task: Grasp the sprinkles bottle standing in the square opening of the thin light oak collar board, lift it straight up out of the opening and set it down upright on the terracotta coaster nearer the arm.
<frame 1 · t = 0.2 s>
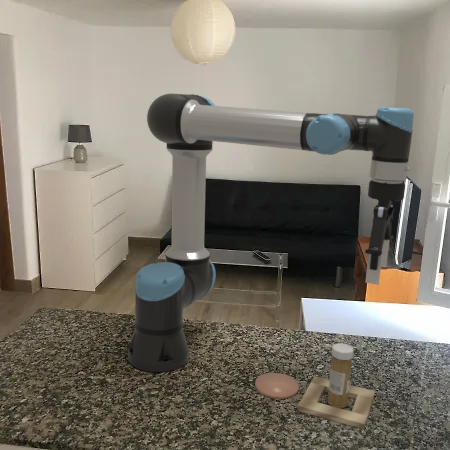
hand: (376, 274, 118), 27 cm above the countertop, tool pointing down, fingers open, 13 cm apart
sprinkles bottle: (337, 404, 115), resting in collar board
collar board: (337, 403, 115), on the countertop
coaster: (276, 387, 121), on the countertop
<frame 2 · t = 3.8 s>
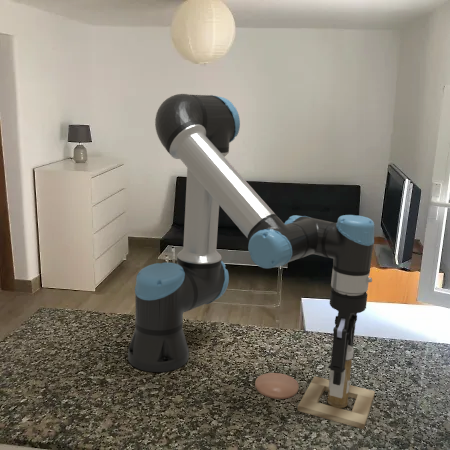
hand: (338, 390, 115), 3 cm above the countertop, tool pointing down, fingers closed on sprinkles bottle, 4 cm apart
sprinkles bottle: (337, 404, 115), resting in collar board, touching gripper
when the fingers open (5 cm above the countertop, at t = 9.9 s): sprinkles bottle stays where it is, resting on coaster.
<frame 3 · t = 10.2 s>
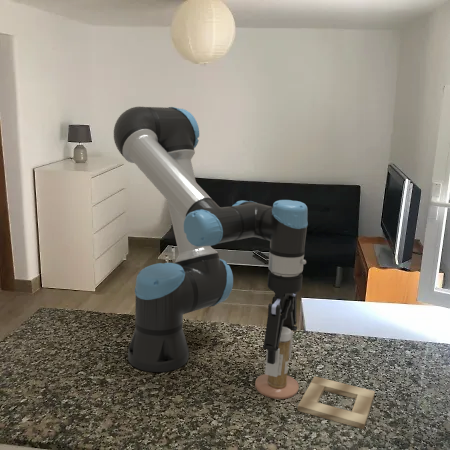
hand: (278, 365, 119), 6 cm above the countertop, tool pointing down, fingers open, 9 cm apart
sprinkles bottle: (276, 384, 121), point 1 cm above the countertop, touching coaster
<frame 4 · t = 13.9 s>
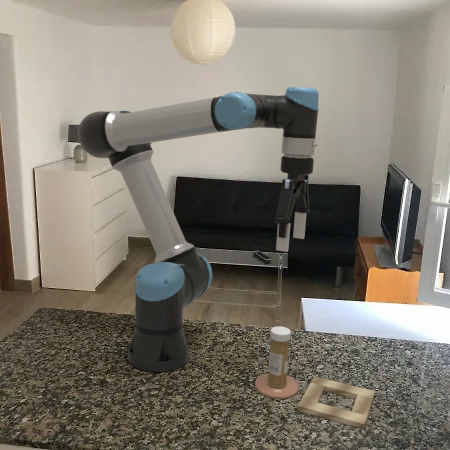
hand: (290, 244, 126), 31 cm above the countertop, tool pointing down, fingers open, 13 cm apart
nothing on the countertop moved.
at the end: sprinkles bottle 0.1 cm from the coaster (horizontally); sprinkles bottle tilted 0°; the gripper is holding nothing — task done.
